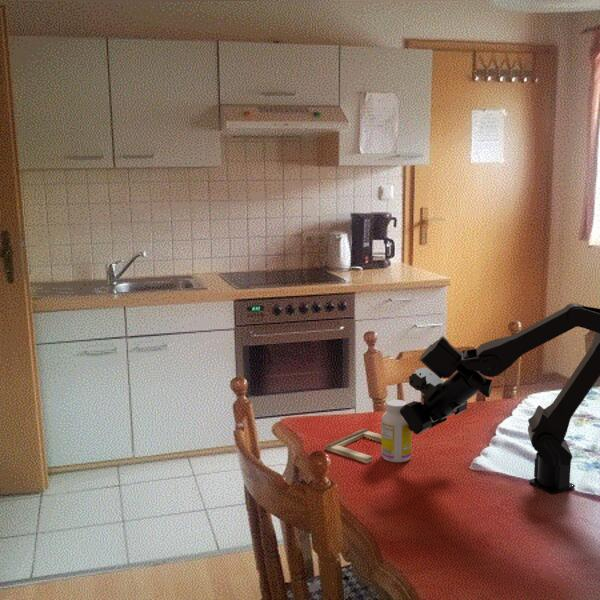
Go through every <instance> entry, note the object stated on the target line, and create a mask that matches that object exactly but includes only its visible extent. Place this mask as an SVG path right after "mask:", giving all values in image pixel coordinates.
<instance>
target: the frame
mask: <svg viewBox="0 0 600 600" xmlns="http://www.w3.org/2000/svg"><path fill="white" fill-rule="evenodd" d="M362 437H366V438H365V439H368V438H369V439H368V440H371V439H372V441H374V440H375V441H374V442H378V443H381V444H382V434H380V433H376V432H373V431H370V430H368V429H367V428H363V429H360V430H357V431H355V432H353V433H351V434H349V435H346V436H344V437H342V438H339V439H338V440H334V441H331V442H330V443H328V444H326V445H325V446H324V448H325V450H326V451H328V452H332V453H335V454H338V455H340V456H343V457H345V458H350V459H353V460H356V461H358V462H362V463H364V464H368V463H370V462H371V463H372V462H373V456H372V455H369V454H365V453H364V452H359V451H356V450H353V449H351V448H348V447H345V446H348V445H351V444H352V442H353V443H354V441H355V442H357V441H359V440H361V439H363V438H362ZM360 438H361V439H360ZM358 439H359V440H358ZM356 440H357V441H356Z"/></svg>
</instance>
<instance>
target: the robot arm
mask: <svg viewBox="0 0 600 600" xmlns="http://www.w3.org/2000/svg"><path fill="white" fill-rule="evenodd" d="M577 327H580V328H581V329H586V330H588V331H591V332H594V336H593V340H592V343H591V346H590V347H589V348H588V350H587V352H586V354H585V355H584V356H583V358H582V359H581V361H580V362H579V364H578V365H577V366H576V368H575V370H574V371H573V372H572V374H571V376H570V377H569V378H568V380H567V381H566V383H565V384H564V385H563V387H562V389H561V390H560V392H559V393H558V395H557V396H556V397H555V399H554V401H552V402H551V404H550V405H548V406H547V407H545V408H544V407H543V406H541V405H538V406H537V408H536V409H535V411H534V414H532V416H531V417H530V418H528V419H527V421H528V426H527V433H528V436H529V440H530V442H531V446H532V448H533V450H534V451H536V454H535V455H536V457H535V458H534V468H533V469H534V471H533V472H534V473H533V477H534V478H530V479H528V483H530V484H532V485H534V486H535V487H538V488H539V489H542V490H543V491H545V492H548V493H549V494H552V495H553V494H557V493H558V494H559V493H561V492H564V491H569V490H571V489H570V488H572V487H576V484H574V483H571V482H570V480H571V469H572V468H571V467H572V466H571V465H572V460H573V455H572V451H571V450H570V448H569V445H568V443H567V441H566V439H565V438H566V436H567V433H568V429H569V427H570V421H571V419H572V417H573V416H574V414H575V413H576V411H577V410H578V408H580V405H581V404H582V403H583V401H584V399H585V398H586V397H587V395H588V394H589V393H590V391H591V390H592V388H593V387H594V385H595V384H596V382H597V381H598V380H599V378H600V307H593V306H587V305H583V304H580V303H578V302H570V303H568V304H566V305H565V306H564V307H563V308H562V309H559V310H558V311H555V312H554V313H552V314H550V315H548V316H546V317H544V318H542V319H541V320H539V321H537V322H535V323H533V324H531V325H529V326H527V327H526V328H524V329H522V330H520V331H518V332H517V333H514V334H512V335H510V336H505V337H499V338H495V339H493V340H490V341H486V342H484V343H481V344H480V345H479V346H477V348H471V349H465V350H460V351H459V350H458V349H457V348H456V347H455V346H453V345H452V344H451V343H450V342H449V340H448V339H447V338H446V337H445V336H441V337H440V338H438V339H437V340H436V341H434V342H433V343H431V344H430V345H429V346H427V348H426V349H425V350H424V351H423V353H421V355H420V357H419V359H418V360H419V361H420V362H421V363H422V364H424V366H426V367H420V368H418V369H416V370H414V372H412V374H411V375H409V376H408V380H409V381H408V385H409V386H410V387H412V388H413V389H414V390H415V391H418V392H421V393H422V394H423V395H422V396H421V398H422V399H423V403H422V402H421V401H416V400H413V401H410V402H407V404H406V405H404V406H403V407H402V408H401V409H400V413H401V415H402V416H403V418H404V419H405V421H406V422H407V424H408V425H409V429H410V431H412V433H414V434H415V435H416V436H417V435H420V434H422V433H424V432H426V431H427V430H428V429H433V428H434V427H436V426H437V425H440V424H442V423H444V422H446V421H447V419H448V418H447V417H449V416H452V415H454V416H455V417H456V416H458V415H460V414H462V413H463V412H465V411H466V410H467V409H468V402H469V401H468V400H470V399H471V398H472V397H473V396H475V395H476V394H478V393H479V392H480V393H481V394H482V395H484V396H485V398H489V397H490V396H491V392H492V390H493V383H492V382H493V380H492V379H490V378H494V377H497V376H500V375H501V374H502V373H504V372H505V371H506V370H507V369H509V368H510V367H512V365H513V364H515V363H516V361H518V360H519V358H520V357H522V356H523V355H525V354H526V353H528V352H531V351H532V350H534V349H537V348H538V347H540V346H542V345H544V344H546V343H548V342H549V341H552V340H554V339H555V338H557V337H560V336H562V335H563V334H565V333H567V332H569V331H571V330H572V329H575V328H577ZM487 377H489V378H487ZM441 378H444V379H446V380H443V379H441ZM572 485H573V486H572ZM572 489H573V488H572Z"/></svg>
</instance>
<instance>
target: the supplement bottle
mask: <svg viewBox="0 0 600 600" xmlns="http://www.w3.org/2000/svg"><path fill="white" fill-rule="evenodd" d="M385 404H386V405H385V409H386V412H384V413H383V414H382V416H381V435H382V443H381V457H382V458H383V460H385V461H388V462H391V463H405V462H408V461H409V460H410V459H411V458H412V443H413V442H412V435H413V431H410V429H409V425H408V424H407V422H406V421H405V419H404V418H403V416H402V415H401V413H400V409H401V408H402V407H403V406H404V405H406V404H408V402H407V401H405V400H402V399H391V400H387V401H386V403H385Z"/></svg>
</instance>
